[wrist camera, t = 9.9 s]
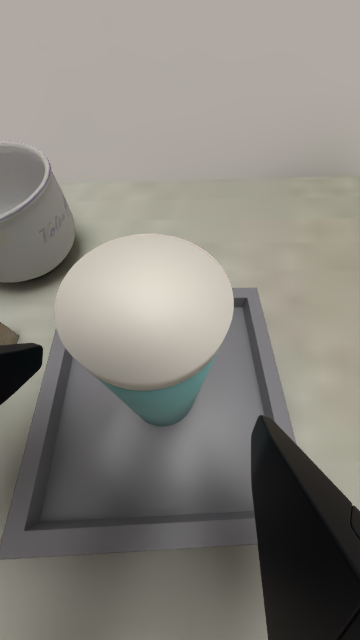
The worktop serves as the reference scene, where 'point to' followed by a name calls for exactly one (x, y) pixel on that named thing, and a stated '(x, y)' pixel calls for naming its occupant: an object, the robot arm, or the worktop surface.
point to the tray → (145, 457)
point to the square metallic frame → (7, 335)
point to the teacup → (31, 215)
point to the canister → (146, 320)
